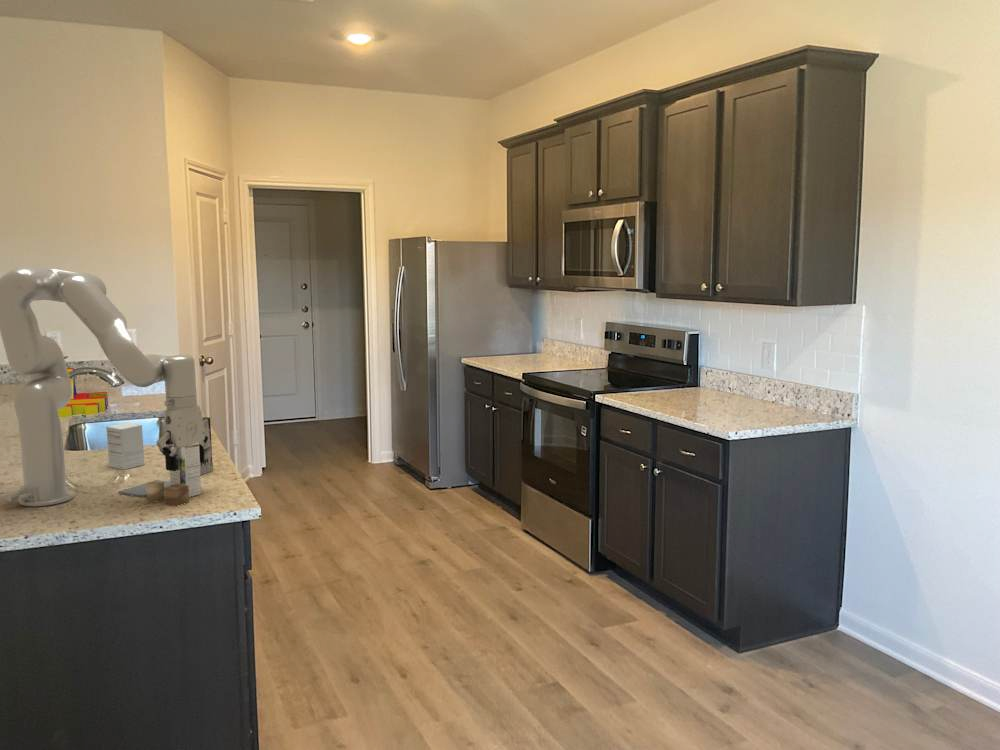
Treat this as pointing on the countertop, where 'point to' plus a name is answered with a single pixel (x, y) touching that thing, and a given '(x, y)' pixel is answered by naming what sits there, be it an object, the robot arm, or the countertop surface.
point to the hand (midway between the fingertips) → (185, 466)
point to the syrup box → (187, 468)
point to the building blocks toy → (84, 402)
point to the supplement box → (125, 445)
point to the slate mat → (140, 489)
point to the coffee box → (207, 450)
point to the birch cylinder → (155, 491)
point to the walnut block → (176, 494)
